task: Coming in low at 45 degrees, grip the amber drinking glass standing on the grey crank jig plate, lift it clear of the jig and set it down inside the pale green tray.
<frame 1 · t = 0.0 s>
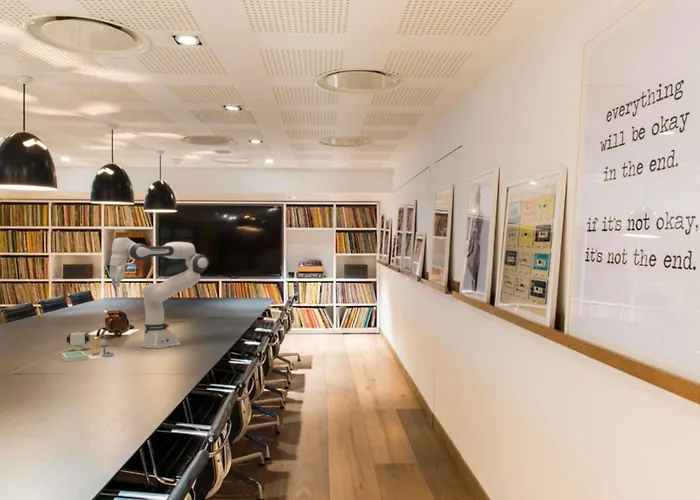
hand: (115, 286, 292), 39 cm above the table, tool pointing down, fingers open, 8 cm apart
amber drinking glass: (95, 354, 277), point 1 cm above the table, touching crank jig
crank jig: (101, 357, 276), on the table
pneumatic valve: (78, 351, 289), on the table
tray: (74, 360, 267), on the table
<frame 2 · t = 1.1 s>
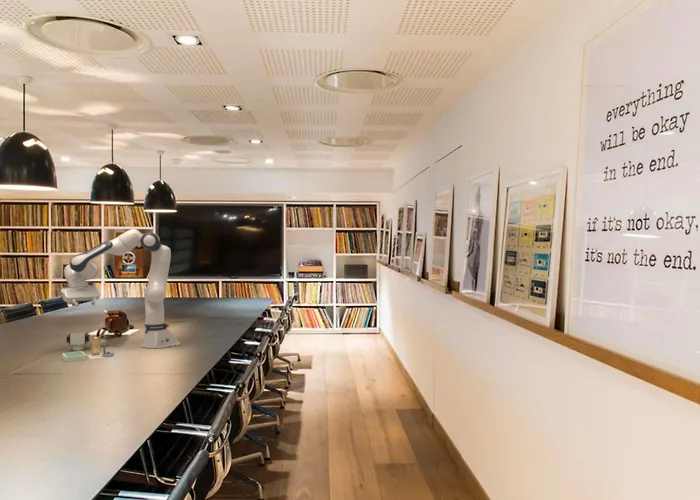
hand: (85, 305, 284), 28 cm above the table, tool tilted 45°, fingers open, 8 cm apart
nothing on the table moved.
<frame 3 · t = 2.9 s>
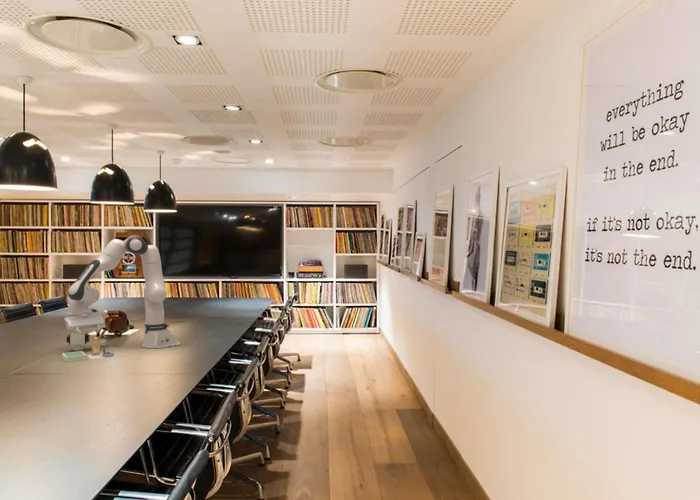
hand: (89, 333, 281), 12 cm above the table, tool tilted 45°, fingers open, 8 cm apart
nothing on the table moved.
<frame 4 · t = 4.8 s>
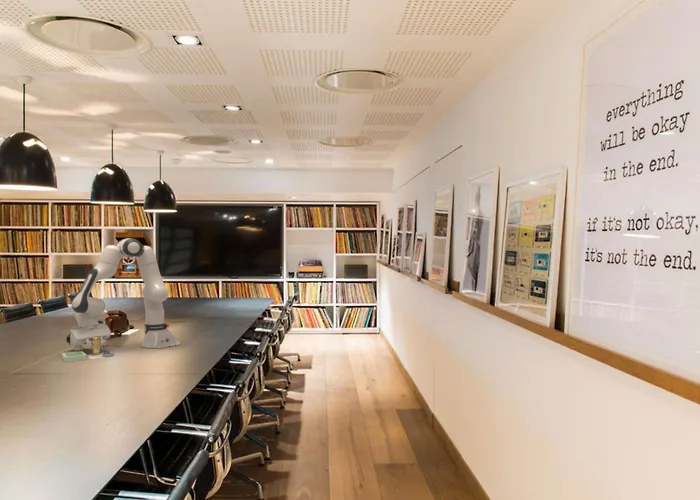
hand: (96, 345, 277), 6 cm above the table, tool tilted 45°, fingers closed on amber drinking glass, 4 cm apart
amber drinking glass: (95, 354, 277), point 1 cm above the table, touching crank jig, gripper
everything else where it was.
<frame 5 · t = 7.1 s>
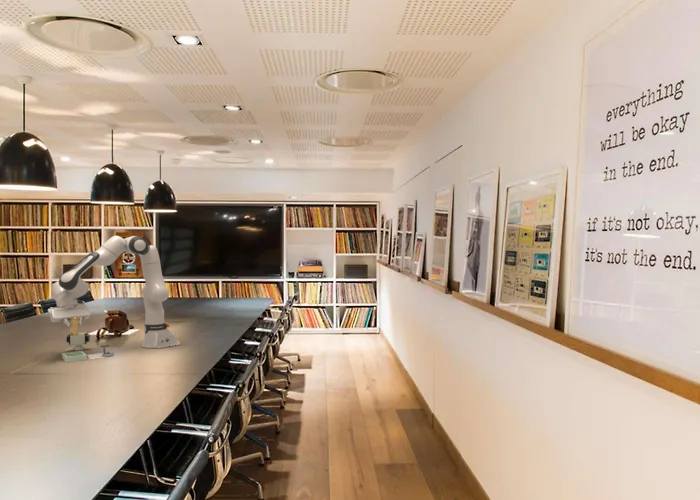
hand: (75, 325, 266), 19 cm above the table, tool tilted 45°, fingers closed on amber drinking glass, 4 cm apart
amber drinking glass: (74, 335, 267), point 14 cm above the table, touching gripper
everything else where it was.
when the fingers open (8 cm above the table, at t = 9.5 s): amber drinking glass drops 1 cm, resting on tray.
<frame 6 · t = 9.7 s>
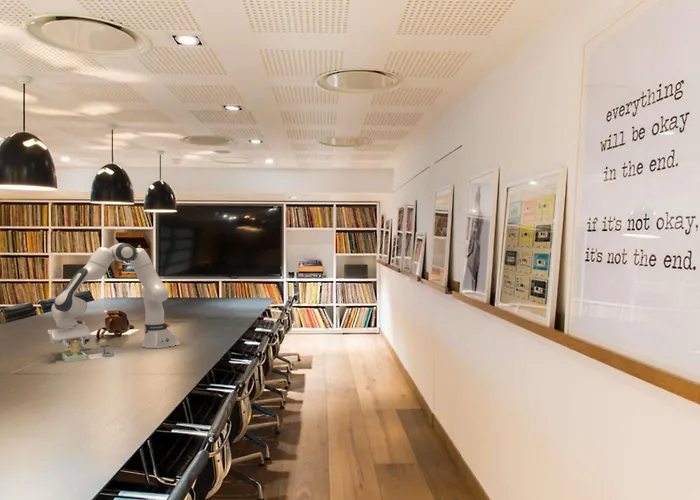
hand: (74, 346, 267), 8 cm above the table, tool tilted 45°, fingers open, 6 cm apart
amber drinking glass: (74, 358, 267), point 1 cm above the table, touching tray
everything else where it was.
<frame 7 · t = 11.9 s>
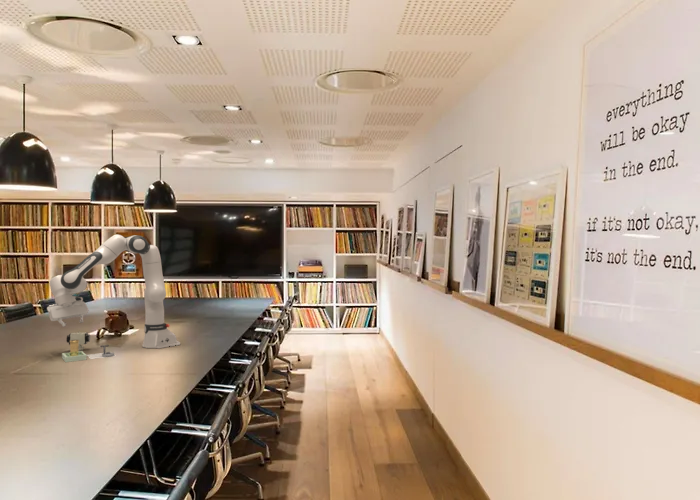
hand: (73, 324, 275), 19 cm above the table, tool tilted 30°, fingers open, 8 cm apart
nothing on the table moved.
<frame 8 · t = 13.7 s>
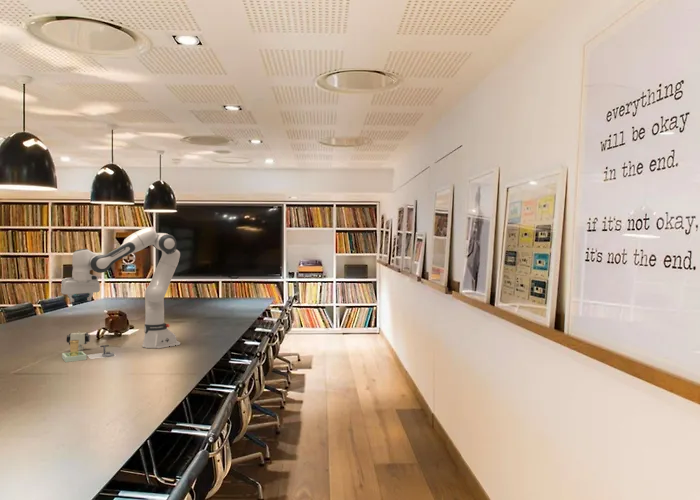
hand: (80, 301, 279), 31 cm above the table, tool pointing down, fingers open, 8 cm apart
nothing on the table moved.
at the end: amber drinking glass inside the target area on the tray (0.0 cm from its centre), point 1.0 cm above the tray's base; amber drinking glass tilted 0°; the gripper is holding nothing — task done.
